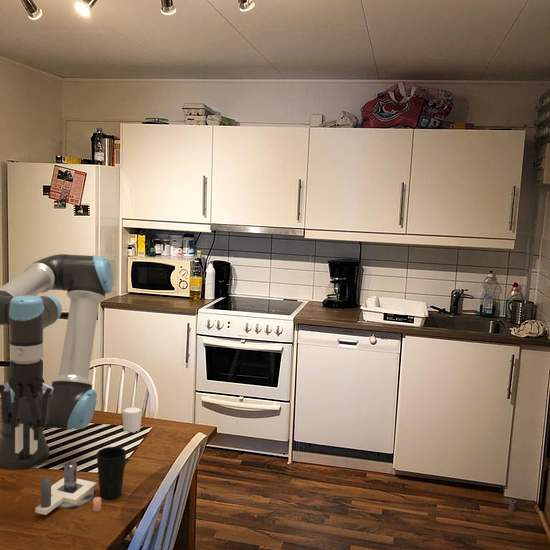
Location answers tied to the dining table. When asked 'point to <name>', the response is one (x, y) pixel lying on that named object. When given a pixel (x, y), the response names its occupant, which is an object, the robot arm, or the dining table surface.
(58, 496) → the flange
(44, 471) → the dining table surface
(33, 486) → the dining table surface
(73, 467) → the base
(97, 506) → the dowel
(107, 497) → the cup
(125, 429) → the white cylinder
